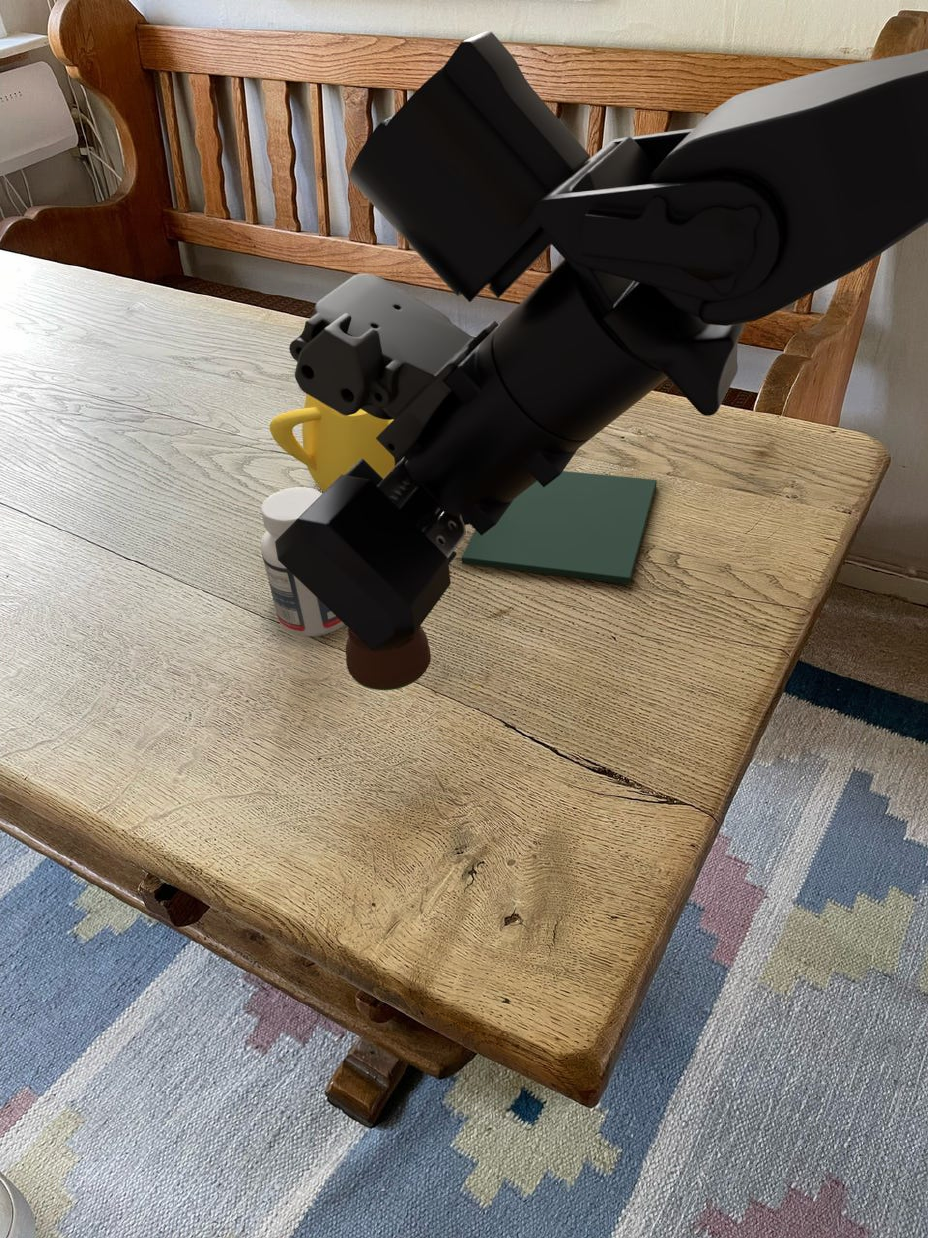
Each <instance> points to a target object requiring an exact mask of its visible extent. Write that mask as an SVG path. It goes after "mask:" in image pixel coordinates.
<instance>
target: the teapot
mask: <svg viewBox="0 0 928 1238" xmlns="http://www.w3.org/2000/svg"><path fill="white" fill-rule="evenodd" d="M393 420H394V419H392V420H385V419H380V418H377V417H374V416H372V415H370V414H369V413H367V412H365V411H363V410H362V409H360V410H359V411H357V412H356V413H355V414H352V415H347V416H346V415H342V414H341V413H339V412H337V411H335V410H334V409H332V408H330V407H329V406H327V405H325V404H324V403H322V402H320V401H318V400H317V399H315V398H313V397H312V396H310V395H308V394H307V393H305V400H304V407H303V408H298V409H294V410H289V411H285V412H283V413H280V414H278V415H276V416H274V417H273V418H272V419H271V421H270V423H269V432H270V435H271V436H272V439H273V440H274V442H275V443H276V444H277V445H278V446H279V447H280V448H281V449H282V450H283V451H284V452H286V453H287V454H288V455H290V456H291V457H293V458H294V459H296V460H297V461H299V462H300V463H302V464H304V465H305V466H306V467H307V470H308V472H309V474H310V476H311V478H312V479H313V481H314V482H315V484H316V485H317V486H318V487H319V489H320V490H321V491H322V493H324V492H325V491H326V490H327V489H328V488H329V487H330V486H331V485H332V484H333V483H334V482H335V481H336V480H337V479H338V478H339V477H340V476H341V475H345V474H346V473H347V472H348V471H349V470H350V469H351V468H352V467H353V466H354V465H355V464H356V463H357V462H358V461H359V460H360V459H361V458H363V459H364V460H365V461H366V462H367V463H368V464H369V465H370V466H371V467H372V468H373V469H374V470H375V471H376V472H377V473H378V474H379V475H380V476H381V477H382V478H383V479H384V478H385V477H386V476H387V475H388V474H389V472H390V471H391V470H392V469H393V468H394V467H395V460H394V457H393V456H392V455H391V454H390V453H389V452H388V451H387V450H386V449H385V448H384V446H383V445H382V444H381V443H380V442H379V441H378V440H377V439H376V437H377V436H378V435H379V434H380V433H381V432H382V431H383V430H384V429H385V428H386V427H387V426H388V425H389V424H390V423H391V422H392V421H393ZM300 424H301V433H302V435H301V437H302V438H301V439H302V445H301V443H300V442H299V441H298V439H297V438H296V436H295V435H294V432H293V429H294V428H295V427H296V426H298V425H300Z"/></svg>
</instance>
